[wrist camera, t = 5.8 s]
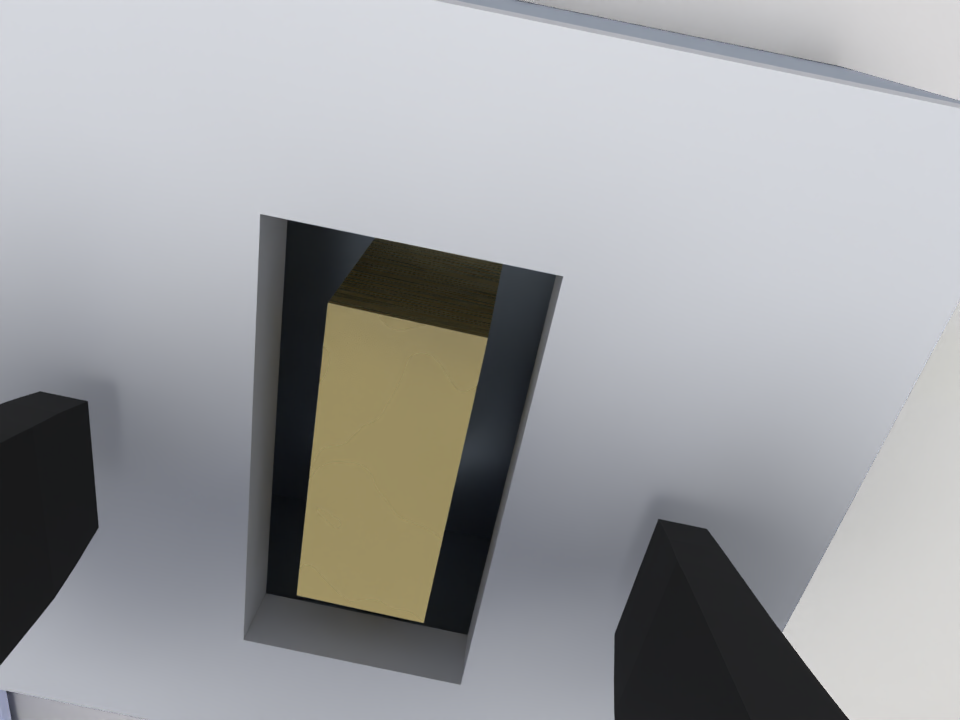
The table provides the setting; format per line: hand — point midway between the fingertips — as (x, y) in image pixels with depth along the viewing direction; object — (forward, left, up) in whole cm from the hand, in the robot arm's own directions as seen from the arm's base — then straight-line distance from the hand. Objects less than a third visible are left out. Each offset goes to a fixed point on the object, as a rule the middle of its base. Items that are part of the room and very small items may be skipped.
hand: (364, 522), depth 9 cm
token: (0, 0, -6) cm, 6 cm away
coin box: (0, 0, -7) cm, 7 cm away
